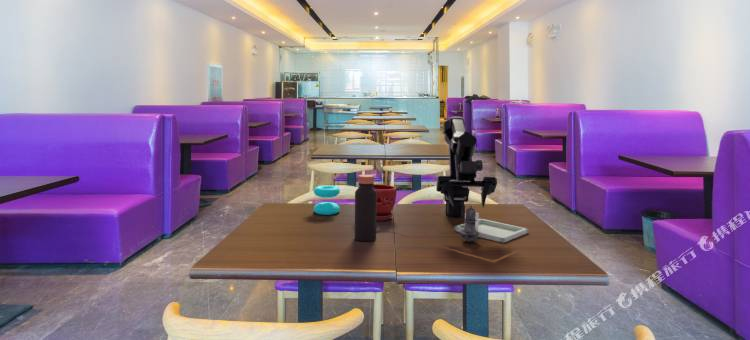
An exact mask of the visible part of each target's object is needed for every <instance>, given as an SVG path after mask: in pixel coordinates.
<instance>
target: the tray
mask: <svg viewBox="0 0 750 340" xmlns="http://www.w3.org/2000/svg"><path fill="white" fill-rule="evenodd" d="M464 228H465V222H464V223H461V224H457V225H455V226H454V228H453V230H454V231H455V232H457V233H460V231H462V230H464ZM478 232H479V233H480V234H479V235H478V238H483V239H487V240H490V241H494V242H499V243H502V244H504V243H506V242H509V241H511V240H513V239H516V238H519V237H522V236H524V235H526V234H528V233H529V228H527V227H522V226H518V225H512V224H508V223H503V222H499V221H495V220H490V219H484V218H479V221H478Z"/></svg>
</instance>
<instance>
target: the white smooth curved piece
mask: <svg viewBox="0 0 750 340" xmlns="http://www.w3.org/2000/svg"><path fill="white" fill-rule="evenodd" d="M464 219H466V211H465V216H464ZM479 219H480V214H479V212H477V211H476V214H475V220H476V222H475V229H476V231H478V221H479Z"/></svg>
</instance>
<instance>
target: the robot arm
mask: <svg viewBox="0 0 750 340" xmlns="http://www.w3.org/2000/svg"><path fill="white" fill-rule="evenodd" d="M466 127H467V126H466V122H465V120H464V117H462V116H451V117H449V119H447V120H446V121H444V122H443V125H442V135H444V141H445V143H447V144H448V157H449V161H448V163H449V175H438V176H437V178H436V179H437V180H436V184H435V185H436V187H435V188H436V189H435V190H436V191H437V192H440V194H443V200H444V202H445V213H444V214H443V216H445V217H450V218H454V219H458V218H463V217H465V212H466V205H465V203H467V202H469V196H470V191H471V190H470V189H469V188H480V190H481V192H480V193H481V194H480V197H481V206H482V207H481V208H484V207H485V205H486V200H487V196H489V195H491V194H493V193H495V190H496V188H497V185H498V179H497V178H496V177H495V176H489V175H488V176H483V178H482V180H476V179H477V172H481V171H483V169H484V168H483V167H484V166H483V160H481V159H477V160H474V161H473V156H474V155H475V151H476V147H478V143H477V142H478V139H477V137H476V136H474V135H473V134H472V133H471V132H470V131H466V129H467V128H466Z"/></svg>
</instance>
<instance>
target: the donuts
mask: <svg viewBox="0 0 750 340" xmlns="http://www.w3.org/2000/svg"><path fill="white" fill-rule="evenodd" d="M340 191H341V189H340V188H339V187H338V186H335V185H327V184H326V185H319V186H315V187H314V189H313V194H314V195H315V196H316V197H319V198H325V199H326V198H335V197H337V196H338V195H339V194H340V193H341V192H340ZM340 210H341V209H340V205H339V204H337V203H335V202H330V201H324V202H318V203H317V204H315V205H314V207H313V212H314V213H315V214H317V215H323V216H331V215H336V214H338V213H339V212H340Z"/></svg>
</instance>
